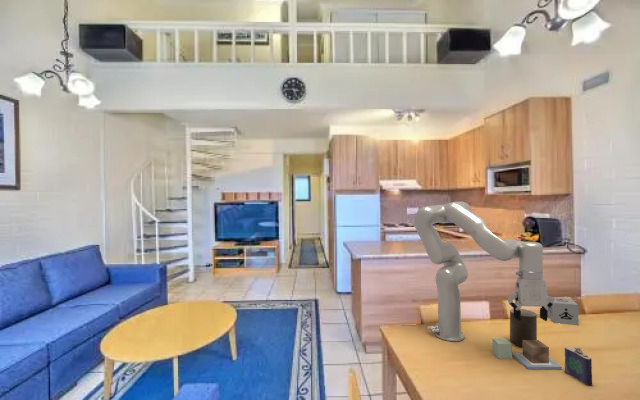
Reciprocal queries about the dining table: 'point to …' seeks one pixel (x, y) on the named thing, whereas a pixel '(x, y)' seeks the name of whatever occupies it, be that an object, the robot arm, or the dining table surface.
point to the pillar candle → (523, 327)
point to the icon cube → (564, 311)
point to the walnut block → (535, 351)
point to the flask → (578, 365)
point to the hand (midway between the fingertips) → (530, 319)
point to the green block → (502, 348)
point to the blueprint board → (542, 366)
